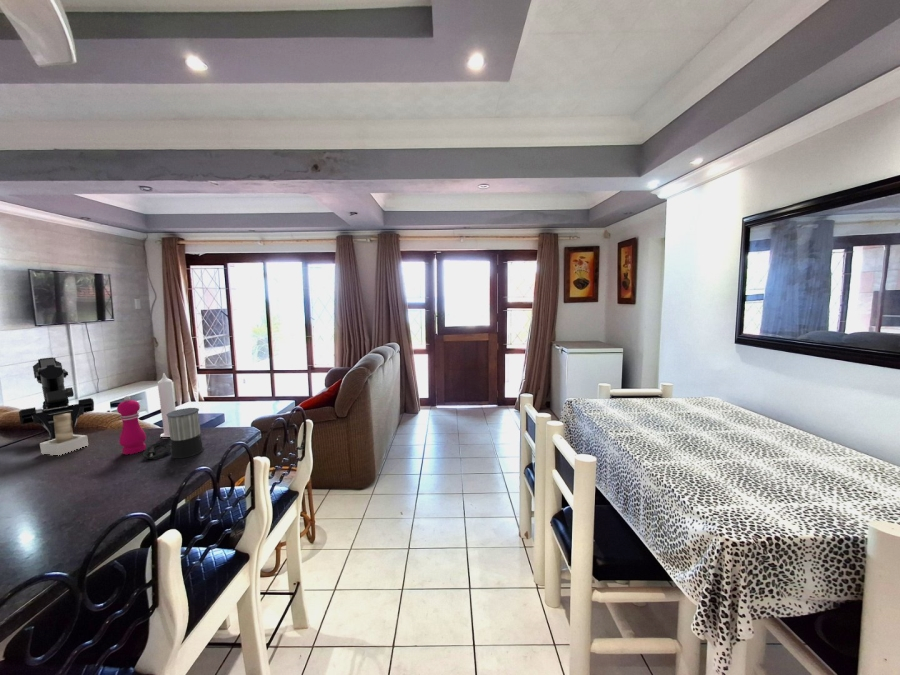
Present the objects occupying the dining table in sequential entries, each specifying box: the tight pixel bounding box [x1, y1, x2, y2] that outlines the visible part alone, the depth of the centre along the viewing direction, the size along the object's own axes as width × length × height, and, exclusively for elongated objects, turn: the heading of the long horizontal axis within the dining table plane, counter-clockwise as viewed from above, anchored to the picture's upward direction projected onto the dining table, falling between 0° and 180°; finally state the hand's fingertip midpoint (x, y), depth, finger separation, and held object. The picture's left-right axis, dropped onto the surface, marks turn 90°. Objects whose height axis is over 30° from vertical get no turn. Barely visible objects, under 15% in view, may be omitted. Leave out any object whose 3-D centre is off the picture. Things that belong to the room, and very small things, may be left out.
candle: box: [157, 372, 177, 438], centre depth 145 cm, size 7×7×25 cm
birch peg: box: [53, 413, 74, 443], centre depth 134 cm, size 4×4×13 cm
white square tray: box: [39, 434, 89, 457], centre depth 134 cm, size 9×9×4 cm
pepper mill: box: [116, 395, 147, 456], centre depth 130 cm, size 7×7×20 cm
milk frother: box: [142, 407, 204, 460], centre depth 126 cm, size 14×16×15 cm
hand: (62, 429), depth 133 cm, fingers open, 6 cm apart
